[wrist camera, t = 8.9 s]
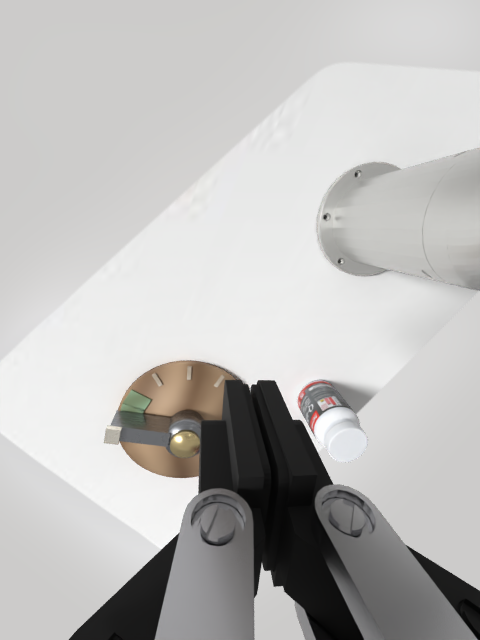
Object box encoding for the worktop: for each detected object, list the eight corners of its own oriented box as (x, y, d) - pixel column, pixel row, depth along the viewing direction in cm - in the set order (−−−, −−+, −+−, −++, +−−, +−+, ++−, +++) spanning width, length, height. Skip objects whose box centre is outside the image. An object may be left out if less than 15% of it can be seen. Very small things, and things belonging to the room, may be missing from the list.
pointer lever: (208, 413, 39) (209, 431, 36) (200, 443, 41) (200, 464, 37) (116, 399, 37) (107, 417, 33) (110, 432, 38) (102, 453, 35)
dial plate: (258, 362, 39) (259, 366, 38) (244, 470, 45) (245, 477, 43) (116, 358, 37) (113, 362, 35) (119, 474, 42) (117, 480, 41)
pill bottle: (291, 386, 41) (319, 434, 32) (330, 373, 41) (368, 416, 32) (301, 418, 43) (329, 472, 34) (338, 405, 43) (376, 455, 34)
